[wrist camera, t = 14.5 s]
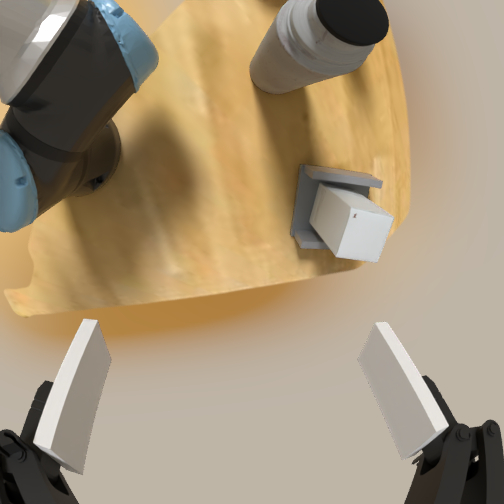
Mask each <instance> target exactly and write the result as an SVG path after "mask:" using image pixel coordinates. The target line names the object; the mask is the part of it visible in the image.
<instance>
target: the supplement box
mask: <svg viewBox="0 0 504 504" xmlns="http://www.w3.org/2000/svg"><path fill="white" fill-rule="evenodd" d="M393 220H394V217H393V216H392V215H390V214H389V213H388V212H386V211H385V210H384V209H382V208H381V207H379V206H378V205H376V204H375V203H373V202H372V201H370V200H369V199H367V198H366V197H364V196H363V195H361V194H360V193H358V192H357V191H355V190H351V189H347V188H344V187H339V186H335V185H331V184H326V183H322V182H320V183H319V187H318V190H317V194H316V198H315V201H314V205H313V209H312V212H311V216H310V220H309V222H310V224H311V225H312V226H313V228H314V229H315V230H316V231H317V233H318V234H319V235H320V237H321V238H322V239H323V240H324V242H325V243H326V244H327V246H328V247H329V248H330V250H331V251H332V252H333V254H334V255H335V257H338V258H345V259H353V260H360V261H368V262H375V263H377V262H378V259H379V257H380V254H381V252H382V249H383V247H384V244H385V242H386V239H387V236H388V233H389V231H390V228H391V226H392V223H393Z"/></svg>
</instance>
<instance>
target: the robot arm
mask: <svg viewBox="0 0 504 504" xmlns="http://www.w3.org/2000/svg"><path fill="white" fill-rule="evenodd" d="M158 60H159V57H158V52H157V50H156V48H155V46H154V44H153V43H152V42H151V40H150V39H149V37H148V36H147V35H146V34H145V32H144V31H143V30H142V29H141V28H140V27H139V25H138V24H137V23H136V22H135V21H134V20H133V19H132V18H131V17H130V16H129V15H128V14H127V13H125V12H124V10H123V9H122V8H121V7H120V6H119V5H118V4H117V3H116V2H115V1H114V0H88V1H87V0H0V99H1V102H2V103H4V104H6V105H9V106H10V108H9V110H8V112H7V113H6V115H5V117H4V119H3V121H2V123H1V125H0V231H1V232H10V233H12V232H16V231H18V230H19V229H21V228H23V227H25V226H27V225H29V224H31V223H33V221H34V220H35V219H36V218H37V217H39V216H40V215H41V214H43V213H44V212H46V211H47V210H48V209H50V208H51V207H53V206H54V205H55V204H57V203H58V202H60V201H61V200H63V199H64V198H66V197H67V196H84V195H87V194H90V193H92V192H94V191H96V190H97V189H99V188H100V187H102V186H103V185H104V184H105V183H106V182H107V181H108V180H109V179H110V178H111V176H112V175H113V173H114V171H115V169H116V167H117V164H118V161H119V156H120V138H119V133H118V130H117V128H116V126H115V124H114V122H113V121H112V117H113V116H114V115H115V114H116V113H117V111H118V110H119V109H120V108H121V107H122V106H123V104H124V103H125V102H126V101H127V100H128V99H129V98H130V97H131V95H132V94H133V93H137V92H138V90H139V88H140V86H141V84H142V83H143V82H144V81H145V80H146V79H147V78H148V77H149V76H150V74H151V73H152V72H153V71H154V70H155V69H156V67H157V65H158ZM358 362H359V364H360V366H361V368H362V370H363V372H364V374H365V376H366V379H367V381H368V383H369V385H370V387H371V389H372V392H373V394H374V396H375V398H376V400H377V403H378V405H379V407H380V409H381V412H382V414H383V416H384V419H385V421H386V423H387V425H388V428H389V430H390V433H391V435H392V437H393V440H394V442H395V444H396V447H397V449H398V452H399V454H400V457H401V459H402V460H404V459H406V458H409V457H411V456H414V455H415V454H417V453H418V452H419V451H420V450H422V451H423V453H422V454H421V455H420V456H418V457H417V458H416V459H415V460H414V461H413V462H412V464H415V463H416V462H418V461H419V462H418V463H417V469H416V473H415V476H414V479H413V481H412V485H411V487H410V490H409V492H408V495H407V498H406V500H405V503H404V504H504V456H503V446H502V439H501V432H500V428H499V425H498V424H497V423H496V422H495V421H494V420H487V421H486V422H485V423H484V424H483V425H482V426H479V427H473V428H469V427H468V426H467V425H465V424H458V423H457V421H456V420H455V418H454V417H453V415H452V413H451V411H450V409H449V407H448V406H447V404H446V402H445V400H444V399H443V398H442V395H441V393H440V392H438V391H439V390H438V388H437V387H436V385H435V383H434V382H433V381H432V380H431V379H430V378H429V377H427V376H421V375H420V373H419V371H418V370H417V368H416V367H415V365H414V363H413V362H412V360H411V358H410V357H409V355H408V354H407V352H406V350H405V349H404V347H403V346H402V344H401V343H400V341H399V339H398V338H397V336H396V335H395V333H394V332H393V330H392V329H391V327H390V326H389V324H388V323H387V322H378V323H374V326H373V328H372V330H371V332H370V335H369V337H368V339H367V341H366V343H365V345H364V347H363V349H362V351H361V353H360V355H359V357H358ZM110 363H111V357H110V354H109V352H108V349H107V346H106V343H105V341H104V338H103V335H102V332H101V329H100V326H99V322H98V320H92V319H83V322H82V323H81V325H80V327H79V329H78V331H77V333H76V335H75V337H74V339H73V341H72V343H71V345H70V348H69V350H68V352H67V354H66V356H65V358H64V361H63V363H62V365H61V367H60V370H59V372H58V374H57V377H56V379H55V381H54V383H53V382H49V381H45V382H44V383H43V384H42V385H41V386H40V387H39V388H38V390H37V392H36V395H35V397H34V401H33V402H32V405H31V409H30V410H29V413H28V416H27V418H26V421H25V424H24V427H23V430H22V433H21V435H20V437H19V436H17V435H16V434H15V433H14V432H13V431H11V430H8V429H6V430H2V431H0V504H79V503H78V501H77V500H76V498H75V496H74V495H73V493H72V491H71V489H70V488H69V486H68V484H67V482H66V480H65V478H64V477H63V475H62V473H61V472H60V466H62V467H64V468H65V469H66V470H69V471H72V472H75V473H78V474H81V475H83V470H84V464H85V459H86V454H87V449H88V444H89V439H90V435H91V431H92V427H93V423H94V418H95V414H96V411H97V407H98V404H99V400H100V396H101V393H102V389H103V386H104V382H105V379H106V376H107V373H108V369H109V366H110ZM476 456H478V458H479V460H478V461H475V457H476Z"/></svg>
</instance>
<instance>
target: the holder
mask: <svg viewBox="0 0 504 504" xmlns="http://www.w3.org/2000/svg"><path fill="white" fill-rule="evenodd" d="M320 182H322V183H326V184H331V185H335V186H339V187H344V188H347V189H351V190H355V191H357V192H358V193H360V194H361V195H363V196H364V197H366V198H368V193H369V188H370V187H376V188H381V187H382V182H383V181H381V180H379V179H377V178H375V177H373V176H372V175H371V174H367V173H361V172H355V171H349V170H343V169H336V168H329V167H322V166H314V165H306V164H300V169H299V176H298V184H297V191H296V198H295V205H294V211H293V218H292V225H291V231H290V235H291V236H294V237H295V239H296V241H297V242H298V244H299V246H300V248H307V249H330V248H329V247H328V246H327V244H326V243H325V242H324V240H323V239H322V238H321V237H320V235H319V234H318V233H317V231H316V230H315V229H314V228H313V226H312V225H311V224H310V222H309V220H310V216H311V212H312V209H313V205H314V201H315V198H316V194H317V190H318V187H319V183H320Z"/></svg>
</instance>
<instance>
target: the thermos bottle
mask: <svg viewBox="0 0 504 504" xmlns="http://www.w3.org/2000/svg"><path fill="white" fill-rule="evenodd" d="M388 28H389V20H388V16H387V13H386V11H385V9H384V7H383V6H382V4H381V3H380V1H379V0H288V1H287V2H286V3H285V4H284V5H283V6H282V7H281V9H280V11H279V12H278V14H277V16H276V18H275V19H274V21H273V23H272V25H271V26H270V28H269V30H268V31H267V33H266V35H265V37H264V39H263V40H262V42H261V44H260V46H259V48H258V50H257V51H256V53H255V55H254V57H253V59H252V61H251V64H250V76H251V78H252V81H253V82H254V83H255V85H256V86H257V87H258V88H260V89H261V90H263V91H265V92H267V93H271V94H283V93H287V92H290V91H292V90H295V89H298V88H301V87H304V86H307V85H310V84H313V83H316V82H320V81H323V80H326V79H330V78H333V77H336V76H340V75H344V74H347V73H350V72H352V71H354V70H356V69H357V68H358V67H360V66H361V65H362V64H363V62H364V61H365V60H366V58H367V56H368V55H369V54H370V52H371V51H372V50H373V48H374V46H375V44H376V43H378V42H380V41H381V40H383V38H384V37H385V36H386V34H387V32H388Z"/></svg>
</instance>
